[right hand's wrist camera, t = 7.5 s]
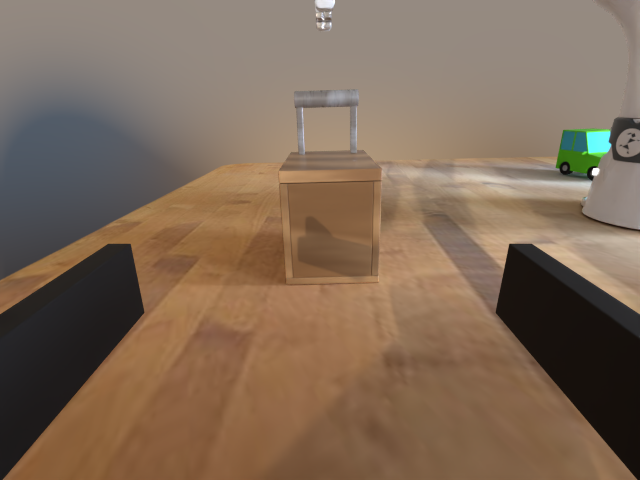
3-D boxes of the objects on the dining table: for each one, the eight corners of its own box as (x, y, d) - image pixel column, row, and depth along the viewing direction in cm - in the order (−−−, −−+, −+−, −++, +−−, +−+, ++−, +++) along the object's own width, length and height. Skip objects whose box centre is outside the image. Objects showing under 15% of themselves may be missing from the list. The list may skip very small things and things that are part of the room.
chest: (295, 237, 50) (290, 161, 46) (362, 235, 50) (363, 159, 46) (286, 285, 36) (279, 184, 33) (378, 282, 36) (381, 181, 32)
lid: (291, 160, 47) (287, 92, 44) (363, 158, 46) (364, 90, 44) (279, 183, 33) (272, 85, 30) (381, 180, 32) (385, 82, 30)
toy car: (600, 183, 74) (613, 133, 71) (550, 173, 87) (559, 130, 83) (641, 180, 76) (655, 131, 73) (586, 170, 88) (596, 128, 85)
